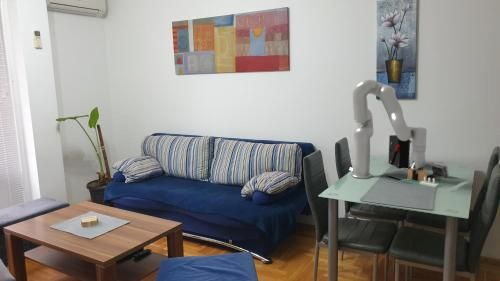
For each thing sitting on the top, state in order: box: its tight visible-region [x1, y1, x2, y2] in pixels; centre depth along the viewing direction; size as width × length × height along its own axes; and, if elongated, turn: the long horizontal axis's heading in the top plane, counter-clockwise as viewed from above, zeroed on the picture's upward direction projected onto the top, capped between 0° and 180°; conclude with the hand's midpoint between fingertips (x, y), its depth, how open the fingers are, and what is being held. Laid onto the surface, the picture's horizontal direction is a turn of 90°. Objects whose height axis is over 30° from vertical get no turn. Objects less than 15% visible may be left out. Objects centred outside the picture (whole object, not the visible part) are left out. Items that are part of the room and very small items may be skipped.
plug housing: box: [407, 168, 428, 181], centre depth 231 cm, size 10×4×6 cm, turn 40°
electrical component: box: [388, 134, 412, 170], centre depth 270 cm, size 18×10×20 cm, turn 179°
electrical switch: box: [431, 162, 450, 178], centre depth 237 cm, size 9×5×9 cm, turn 20°
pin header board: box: [398, 176, 448, 189], centre depth 225 cm, size 22×14×6 cm, turn 40°
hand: (417, 178), depth 231 cm, fingers closed on plug housing, 4 cm apart
